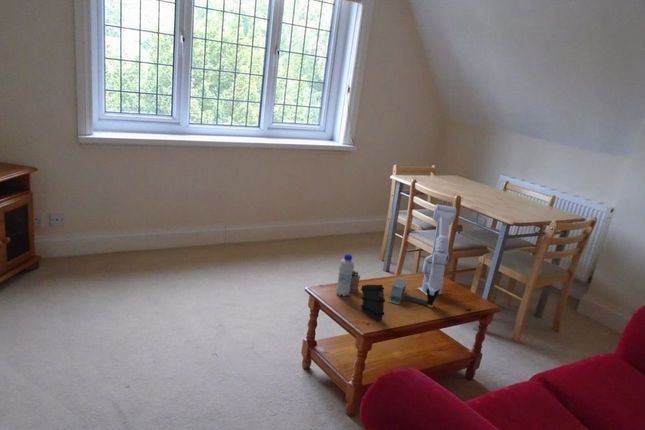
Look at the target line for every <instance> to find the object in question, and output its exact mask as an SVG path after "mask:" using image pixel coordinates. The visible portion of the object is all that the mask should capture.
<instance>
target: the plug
mask: <svg viewBox="0 0 645 430" xmlns="http://www.w3.org/2000/svg"><path fill="white" fill-rule="evenodd" d="M406 290H407V286H406V287H404V288H403V293H402V298H401V301H404V300H405V301H408V302H412V303H416V304H420V305H423V306H427V307H428V308H433V306H434V304H433V305H429V304H428V299H425V298H421V297H418V296H414V295H410V294H406Z"/></svg>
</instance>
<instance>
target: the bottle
mask: <svg viewBox="0 0 645 430" xmlns="http://www.w3.org/2000/svg"><path fill="white" fill-rule="evenodd" d="M354 265H355V261H354V260H353V255H351V254H349V253H346V254H345V255H344V257H343V258H342V259H341V260H340V263H339V267H338V270H339V271H338V278H337V284H336V288H335V289H336V290H335V292H336V294H337V295H338V296H339V297H341V295H342V297H347V296H348V295H349V293H350V292H351V291H350V283H351V277H352V272H353V270H355V269H354V268H355V267H354Z"/></svg>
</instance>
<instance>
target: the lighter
mask: <svg viewBox="0 0 645 430" xmlns="http://www.w3.org/2000/svg"><path fill="white" fill-rule="evenodd" d="M360 280H361V275H359V271H356V270H355V269H353V272H352V277H351V283H350V291H349V292H355V293H357V292H358V291H359V284H360Z"/></svg>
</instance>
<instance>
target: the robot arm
mask: <svg viewBox="0 0 645 430" xmlns="http://www.w3.org/2000/svg"><path fill="white" fill-rule="evenodd" d="M457 210H458V209H457V207H456V206H449V205H443V204H438V203H436V204H435V206H434V210H433V216H432V218H433V221H434V222H435V223H436V226H435V227H436V228H435V233H434V239H433V244H432V250H431V254H430V255H427V256H426V257H425V258H424V262H423V265H422V266H423V267H422V273H423V274H424V276H423V280H422V284H421V287H418V286H417V289H418V290H419V291H420V292H421V293H422V294H424V295H425V296H427V300H428V304H429V305H433V306H434V304H435V303H434V302H435V301H436V298H438V296H439V295H442V294H443V291H442V290H443V286H444V273H445V270H446V266H447V265H448V261H449V258H450V257H449V243H450V239H449V238H448V232H449V227H450V225H451V224H452V223H453V222H454V220H456V216H457Z"/></svg>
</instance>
